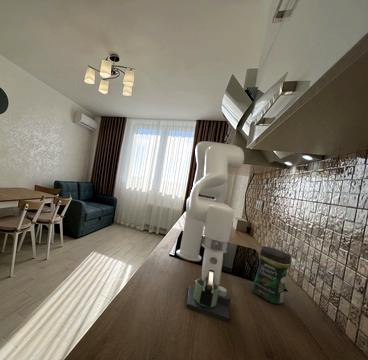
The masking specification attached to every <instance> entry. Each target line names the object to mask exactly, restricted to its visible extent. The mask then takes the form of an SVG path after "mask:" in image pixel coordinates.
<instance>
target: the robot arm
mask: <svg viewBox="0 0 368 360" xmlns="http://www.w3.org/2000/svg"><path fill="white" fill-rule="evenodd" d="M195 159H196V170H195V174H194V180H193V184H192V185H193V186H192V189H191V191H190V195H189V197H187V199H186V204H185V205H186V206H185V207H186V208H185V209H186V210H185V219H184V225H183V230H182V237H181V242H180V246H179V247H180V248H179V249H177V250H176V252H175V253H176V256H178V257H180V258H182V259H183V260H185V261H191V262H201V261H202V266H201V279H202V280H203V281H204V285H203V290H202V291H201V297H200V304H202V305H205V306H208V307H211V303H212V297H213V287H214V283H215V285H217V286H220V282H221V274H222V268H223V261H224V254H227V252H228V248H229V243H230V237H231V233H232V227H233V222H234V221H233V220H234V216H235V210H234V208H232V207H231V206H230V205H228V204H226V202H225V201H226V197H227V193H228V180H229V168H231V169H239V168H241V167H242V166H243V164H244V161H245V152H244V150H243V149H242V147H239V146H237V145H234V144H229V143H223V142H215V141H206V140H205V141H203V140H202V141H200V142H198V143H197V144H196V146H195ZM199 195H200V196H199ZM210 197H212V198H210ZM204 222H205V223H204ZM201 247H203V248H204V251H203V257H202V256H201V255H200V250H201ZM206 280H208V281H206ZM206 283H207V285H206Z"/></svg>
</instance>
